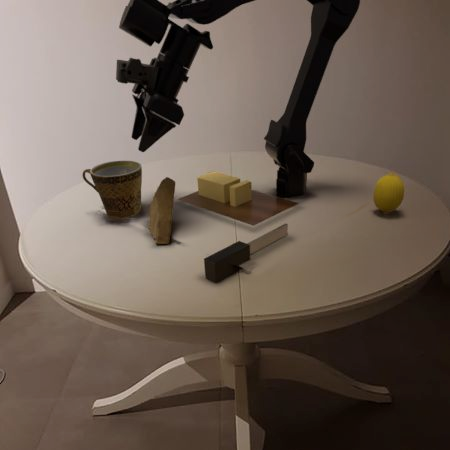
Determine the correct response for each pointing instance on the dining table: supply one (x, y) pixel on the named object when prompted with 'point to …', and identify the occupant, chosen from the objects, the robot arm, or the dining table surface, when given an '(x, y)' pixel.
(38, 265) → the dining table surface
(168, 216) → the rock
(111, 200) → the ceramic cup
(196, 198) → the butter board
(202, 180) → the butter stick
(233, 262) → the knife
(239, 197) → the butter slice
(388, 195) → the lemon
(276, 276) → the dining table surface
